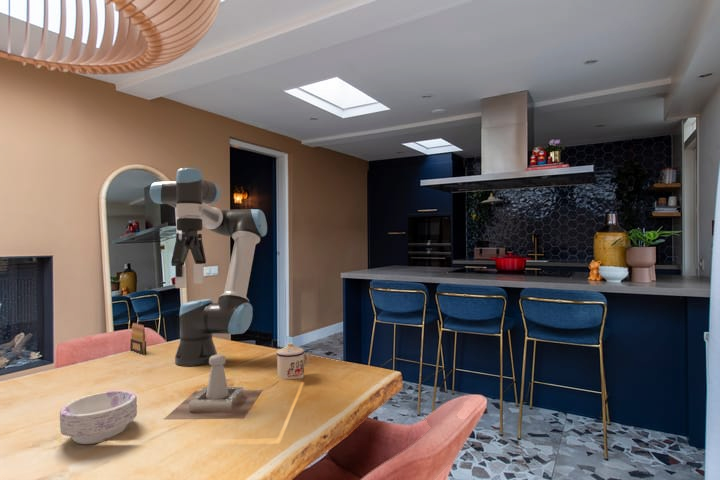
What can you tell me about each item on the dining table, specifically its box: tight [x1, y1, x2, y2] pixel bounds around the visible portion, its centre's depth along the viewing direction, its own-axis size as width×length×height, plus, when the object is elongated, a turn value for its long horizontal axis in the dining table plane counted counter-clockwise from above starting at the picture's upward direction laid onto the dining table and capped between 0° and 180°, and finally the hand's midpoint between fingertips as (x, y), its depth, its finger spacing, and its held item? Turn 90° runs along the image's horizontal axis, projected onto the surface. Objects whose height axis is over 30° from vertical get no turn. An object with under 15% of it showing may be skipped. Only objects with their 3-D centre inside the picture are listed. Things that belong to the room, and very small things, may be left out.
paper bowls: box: [59, 390, 138, 445], centre depth 96 cm, size 15×15×8 cm
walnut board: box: [163, 389, 263, 420], centre depth 112 cm, size 20×20×1 cm
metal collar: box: [189, 386, 244, 412], centre depth 112 cm, size 11×11×2 cm
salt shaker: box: [206, 354, 229, 400], centre depth 112 cm, size 6×6×13 cm
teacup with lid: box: [276, 342, 309, 380], centre depth 137 cm, size 12×9×12 cm
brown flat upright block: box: [129, 322, 147, 355], centre depth 172 cm, size 11×2×12 cm, turn 52°
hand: (189, 285), depth 128 cm, fingers open, 13 cm apart
